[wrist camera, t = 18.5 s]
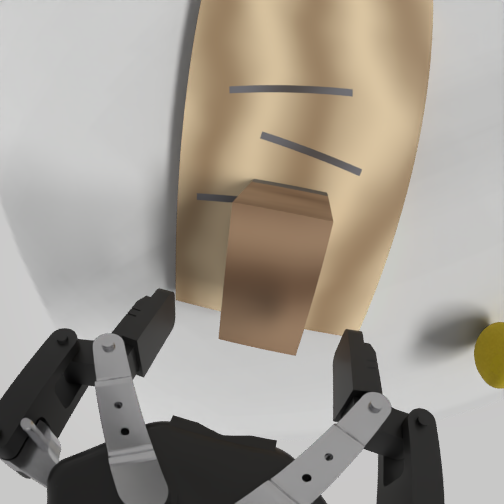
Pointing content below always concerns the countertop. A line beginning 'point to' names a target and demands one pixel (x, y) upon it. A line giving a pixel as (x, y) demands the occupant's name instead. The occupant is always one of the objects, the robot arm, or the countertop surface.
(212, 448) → the robot arm
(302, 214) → the block
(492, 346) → the lemon
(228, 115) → the plywood board
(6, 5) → the countertop surface
